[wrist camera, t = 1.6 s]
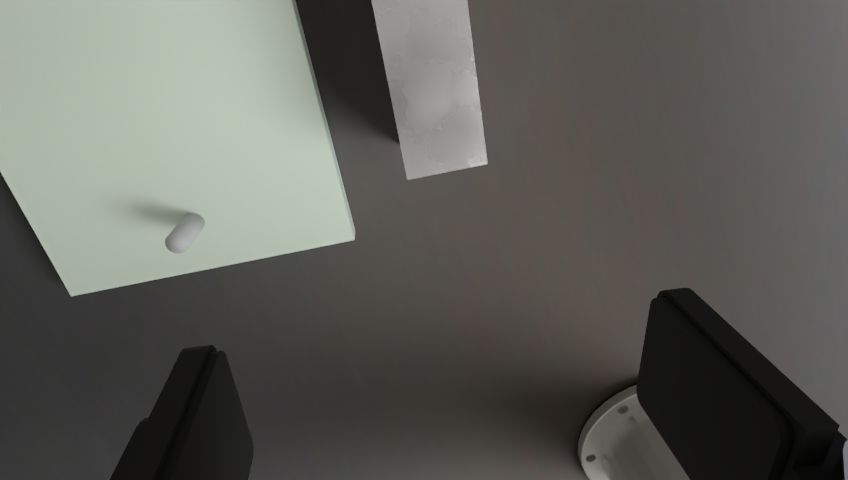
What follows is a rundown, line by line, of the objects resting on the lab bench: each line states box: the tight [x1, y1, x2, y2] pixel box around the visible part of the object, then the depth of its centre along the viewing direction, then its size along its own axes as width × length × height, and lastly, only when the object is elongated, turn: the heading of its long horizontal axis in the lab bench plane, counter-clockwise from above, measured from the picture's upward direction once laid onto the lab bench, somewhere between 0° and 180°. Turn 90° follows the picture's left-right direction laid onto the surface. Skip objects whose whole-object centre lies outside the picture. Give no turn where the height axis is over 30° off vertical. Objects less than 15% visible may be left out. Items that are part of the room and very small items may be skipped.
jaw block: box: [371, 0, 488, 180], centre depth 26 cm, size 4×10×7 cm, turn 10°
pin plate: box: [0, 0, 355, 296], centre depth 27 cm, size 18×20×4 cm
